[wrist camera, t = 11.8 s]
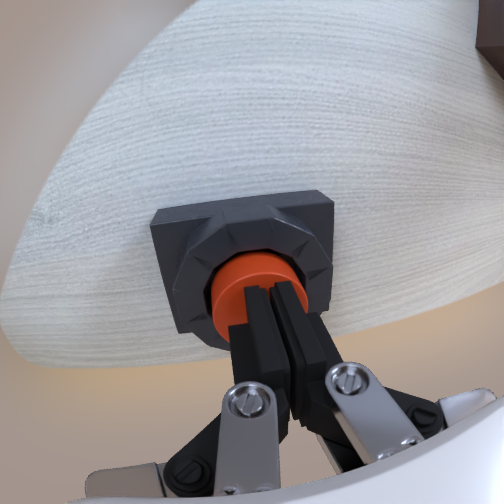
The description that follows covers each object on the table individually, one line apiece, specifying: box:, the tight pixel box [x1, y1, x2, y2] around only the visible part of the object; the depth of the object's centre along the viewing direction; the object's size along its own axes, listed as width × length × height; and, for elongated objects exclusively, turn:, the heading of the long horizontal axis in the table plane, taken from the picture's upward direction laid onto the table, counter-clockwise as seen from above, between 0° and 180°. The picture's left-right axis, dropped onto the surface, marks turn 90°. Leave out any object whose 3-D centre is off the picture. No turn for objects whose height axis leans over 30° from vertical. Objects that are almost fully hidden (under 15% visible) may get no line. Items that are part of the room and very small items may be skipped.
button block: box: [150, 190, 334, 351], centre depth 13 cm, size 8×6×4 cm
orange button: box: [211, 251, 308, 343], centre depth 11 cm, size 4×4×2 cm
